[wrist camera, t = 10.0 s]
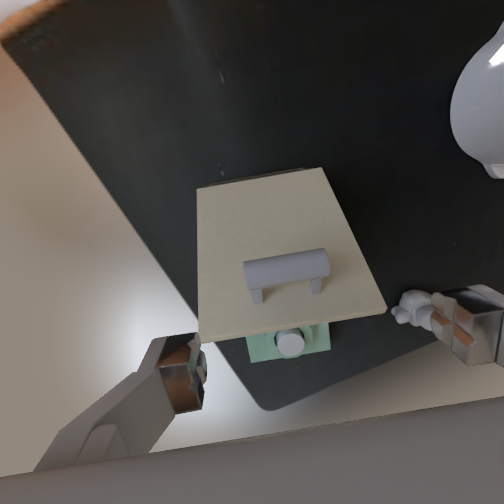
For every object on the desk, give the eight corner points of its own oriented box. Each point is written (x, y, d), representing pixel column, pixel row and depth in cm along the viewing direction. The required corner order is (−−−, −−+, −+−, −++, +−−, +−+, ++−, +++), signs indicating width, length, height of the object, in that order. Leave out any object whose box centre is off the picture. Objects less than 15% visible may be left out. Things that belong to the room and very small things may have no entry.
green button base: (319, 286, 41) (330, 303, 36) (324, 336, 44) (334, 358, 39) (240, 299, 41) (240, 318, 37) (250, 349, 44) (251, 371, 40)
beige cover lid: (384, 313, 19) (410, 273, 15) (201, 344, 19) (177, 313, 15) (320, 173, 28) (326, 126, 24) (198, 194, 28) (183, 151, 24)
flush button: (300, 324, 38) (303, 331, 36) (303, 345, 39) (305, 354, 37) (274, 328, 38) (275, 336, 36) (277, 349, 39) (279, 358, 37)
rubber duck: (429, 308, 43) (469, 340, 36) (388, 321, 44) (419, 356, 36) (423, 278, 42) (465, 305, 34) (381, 293, 42) (412, 323, 35)
